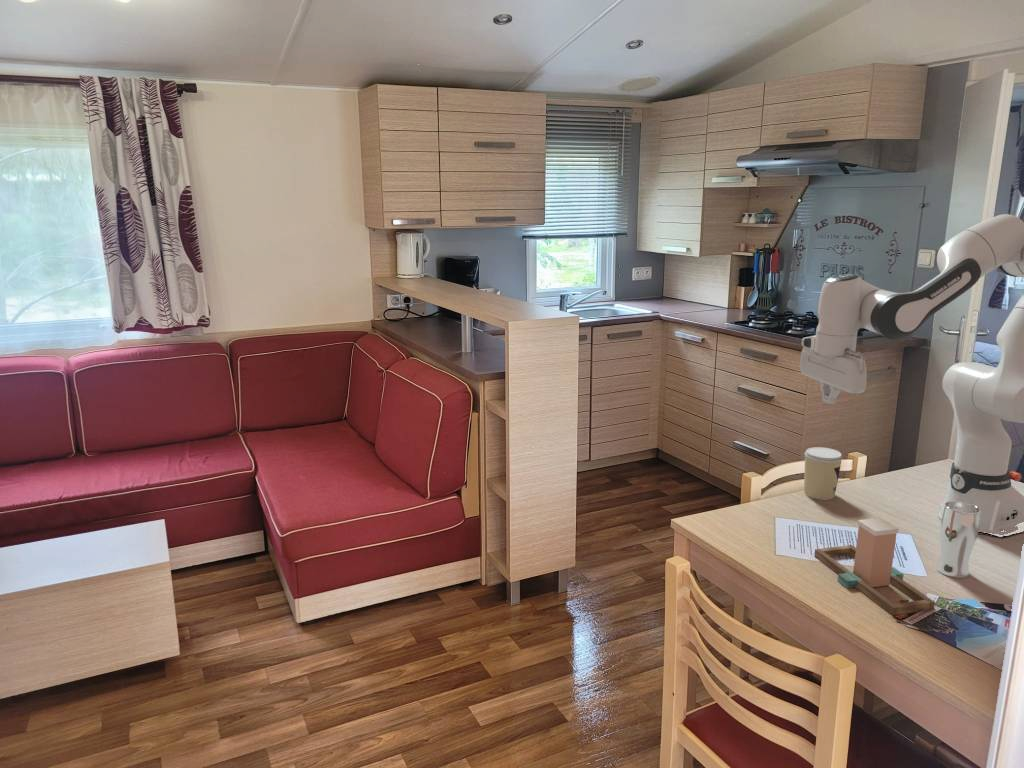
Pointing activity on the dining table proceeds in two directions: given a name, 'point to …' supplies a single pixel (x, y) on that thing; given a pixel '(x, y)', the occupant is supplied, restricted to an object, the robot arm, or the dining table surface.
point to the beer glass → (957, 537)
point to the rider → (875, 551)
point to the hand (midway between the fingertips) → (829, 402)
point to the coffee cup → (821, 472)
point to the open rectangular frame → (853, 581)
